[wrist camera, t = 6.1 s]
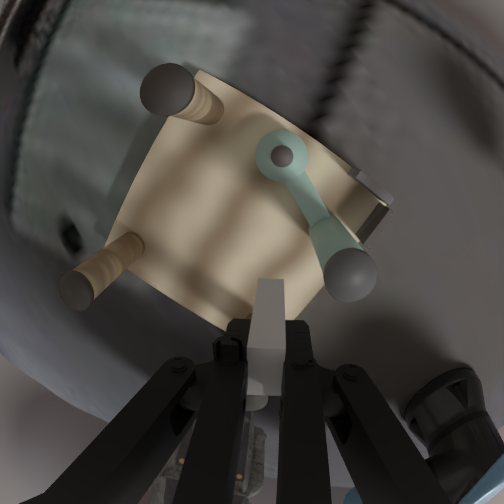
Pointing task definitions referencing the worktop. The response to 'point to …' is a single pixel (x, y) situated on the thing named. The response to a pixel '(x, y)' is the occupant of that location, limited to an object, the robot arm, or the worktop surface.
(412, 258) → the worktop surface
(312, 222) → the folding leg
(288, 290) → the stool
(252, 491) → the figurine
